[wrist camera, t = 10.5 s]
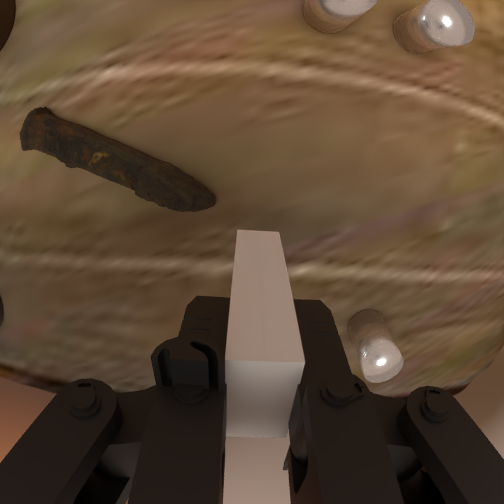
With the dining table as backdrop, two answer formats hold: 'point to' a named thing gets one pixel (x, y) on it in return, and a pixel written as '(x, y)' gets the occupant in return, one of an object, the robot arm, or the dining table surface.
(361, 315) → the cylinder
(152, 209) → the dining table surface
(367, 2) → the cylinder
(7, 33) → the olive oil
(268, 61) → the dining table surface
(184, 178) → the hand tool
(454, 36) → the cylinder
